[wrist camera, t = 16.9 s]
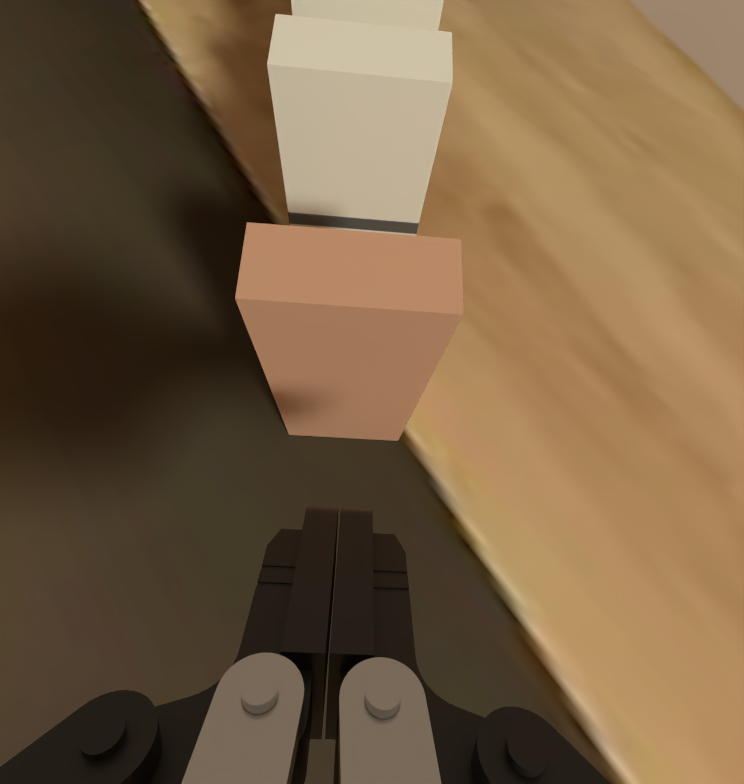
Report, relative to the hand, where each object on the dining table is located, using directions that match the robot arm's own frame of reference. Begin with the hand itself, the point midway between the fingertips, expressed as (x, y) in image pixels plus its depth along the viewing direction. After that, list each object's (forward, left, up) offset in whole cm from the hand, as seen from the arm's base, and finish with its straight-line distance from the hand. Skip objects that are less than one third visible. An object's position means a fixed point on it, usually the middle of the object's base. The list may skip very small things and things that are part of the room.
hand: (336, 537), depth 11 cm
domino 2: (0, +13, -10) cm, 16 cm away
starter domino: (0, +6, -10) cm, 11 cm away
